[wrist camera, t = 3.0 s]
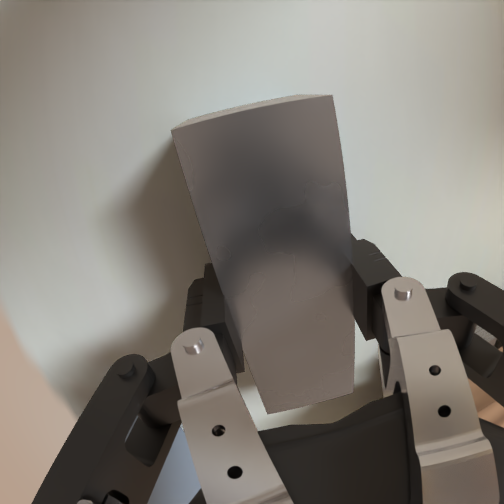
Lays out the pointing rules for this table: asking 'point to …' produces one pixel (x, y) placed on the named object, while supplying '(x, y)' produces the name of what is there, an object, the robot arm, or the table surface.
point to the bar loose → (278, 240)
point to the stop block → (175, 475)
